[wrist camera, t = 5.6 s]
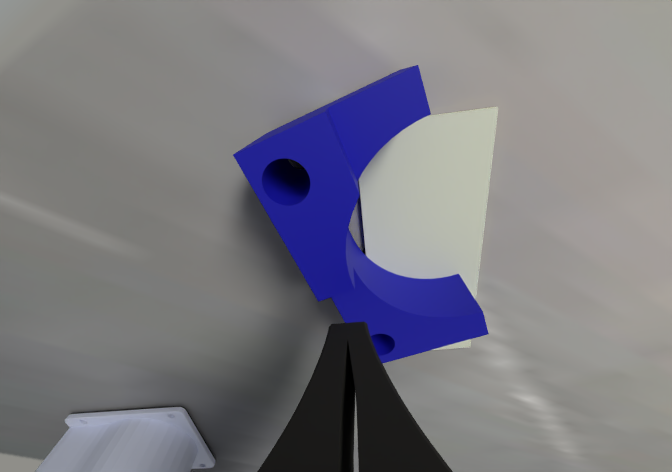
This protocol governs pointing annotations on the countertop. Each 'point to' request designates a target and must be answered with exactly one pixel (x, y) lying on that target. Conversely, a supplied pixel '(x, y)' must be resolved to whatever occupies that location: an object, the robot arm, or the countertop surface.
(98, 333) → the countertop surface
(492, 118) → the mat
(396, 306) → the cable clip
